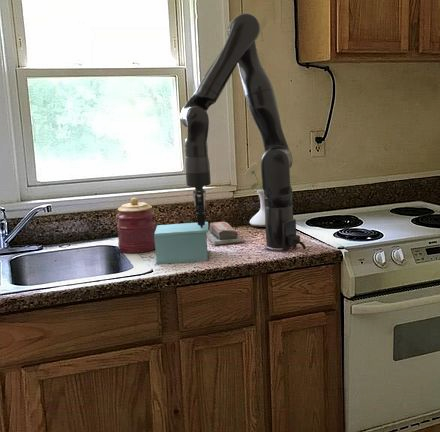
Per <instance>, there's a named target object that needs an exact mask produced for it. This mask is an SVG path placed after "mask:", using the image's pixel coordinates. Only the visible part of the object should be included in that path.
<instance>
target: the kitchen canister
mask: <svg viewBox="0 0 440 432" xmlns="http://www.w3.org/2000/svg"><path fill="white" fill-rule="evenodd" d="M152 208H153V206H152V205H151V204H149V203H147V202H142V201H139V199H138V198H137V197H131V198H130V202H128V203H124V204H121V206H120V207H118V208H117V211H118V213H117V214H116V215H115V218H116V219H117V224H116V228H117V229H116V230H117V241H118V243H117V245H118V249H119V251H120V252H121V253H126V254H137V253H145V252H149V251H153V250H155V237H154V233H155V230H156V228H157V225H156V224H157V222H156V221H155V218H154V216H156V212H154V211H153V210H152Z"/></svg>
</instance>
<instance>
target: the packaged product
mask: <svg viewBox="0 0 440 432" xmlns="http://www.w3.org/2000/svg"><path fill="white" fill-rule="evenodd" d="M238 234H239V233H238V231H237V230H235V228H233V226H231V225H230V224H229V223H228V222H226V221H215V222H210V223H209V229H208V233H206V236H207V238H208V240H209V241H210V242H211V243H212V244H213V245H214V246H219V245H227V244H228V245H229V244H237V243H243V238H241V236H239V235H238Z"/></svg>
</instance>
